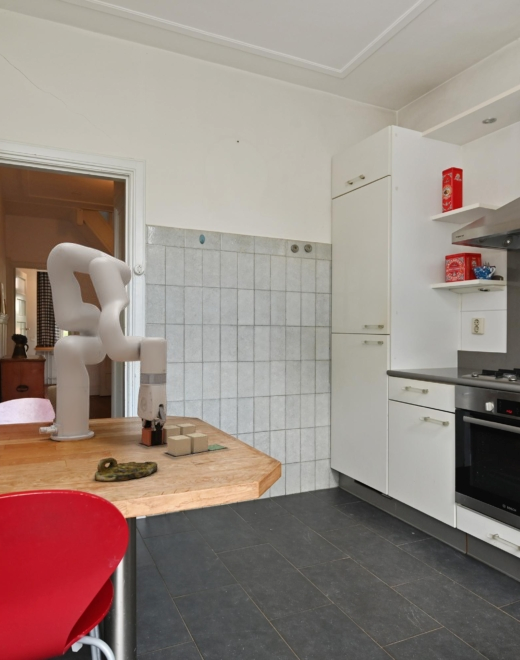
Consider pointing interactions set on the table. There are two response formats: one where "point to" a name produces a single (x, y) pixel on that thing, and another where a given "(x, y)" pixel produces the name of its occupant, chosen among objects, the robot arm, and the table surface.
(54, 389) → the stone cup
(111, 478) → the seal
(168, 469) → the table surface
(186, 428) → the left rack
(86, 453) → the table surface
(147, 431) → the rust orange cube
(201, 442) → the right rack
